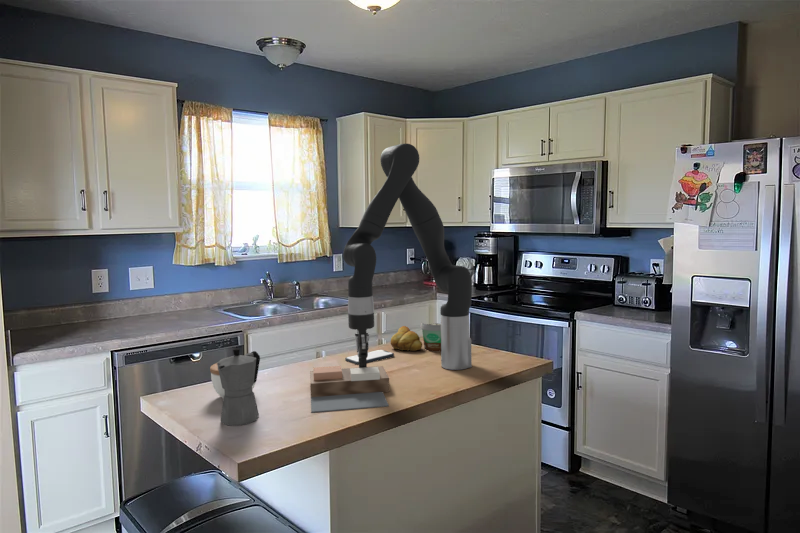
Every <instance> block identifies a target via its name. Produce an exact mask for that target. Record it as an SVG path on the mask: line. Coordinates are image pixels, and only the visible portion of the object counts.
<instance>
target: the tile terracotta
mask: <svg viewBox="0 0 800 533" xmlns="http://www.w3.org/2000/svg"><path fill="white" fill-rule="evenodd" d="M312 369H313V370H312V371H313V372H314V380H324V379H338V378H342V369H343V368H342V366H341V365H335V366H333V365H331V366H318V367H316V366H315V367H313V368H312Z"/></svg>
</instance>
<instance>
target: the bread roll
mask: <svg viewBox="0 0 800 533" xmlns="http://www.w3.org/2000/svg"><path fill="white" fill-rule="evenodd" d="M390 346H391V347H392V348H393V349H395V350H400V351H403V350H407V351H409V350H410V351H411V352H412V351H413V352H414V351H419V350H421V349H422V348H423V343H422V341H421V340H420V335H419V334H418V333H417V332H415V331H413V330H411V329H410V328H409V327H408V326H406V325H402V326H401V327H399V328H398V330H397V332H396V333H394V334H393V335H392V336H391V338H390Z"/></svg>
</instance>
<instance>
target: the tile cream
mask: <svg viewBox="0 0 800 533" xmlns="http://www.w3.org/2000/svg"><path fill="white" fill-rule="evenodd" d="M349 368H350V376H351V381H362V380H378V379H380V372H379V369H378V367H373V366H367V367H366V368H359V367H349Z"/></svg>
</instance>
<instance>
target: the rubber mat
mask: <svg viewBox="0 0 800 533" xmlns="http://www.w3.org/2000/svg"><path fill="white" fill-rule="evenodd" d="M385 407H386V408H388V407H390V406H389V403H388V401H387V398H386V396H385V393H384V392H372V393H359V394H346V395H334V396H321V397H311V396H310V409H311V410H310V411H311V414H312V413H314V414H315V413H324V412H336V411H349V410H358V409H359V410H360V409H373V408H374V409H375V408H385Z"/></svg>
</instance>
